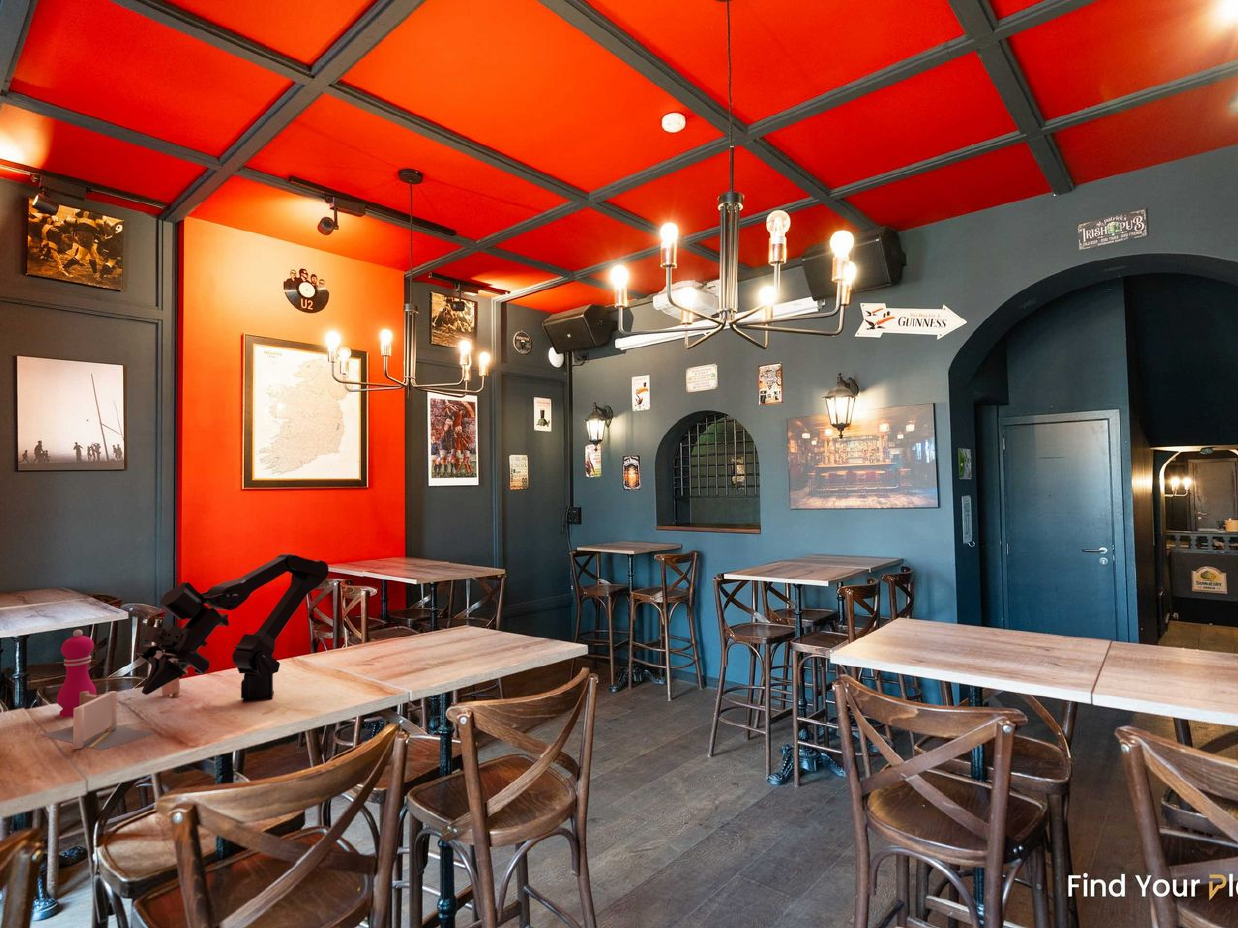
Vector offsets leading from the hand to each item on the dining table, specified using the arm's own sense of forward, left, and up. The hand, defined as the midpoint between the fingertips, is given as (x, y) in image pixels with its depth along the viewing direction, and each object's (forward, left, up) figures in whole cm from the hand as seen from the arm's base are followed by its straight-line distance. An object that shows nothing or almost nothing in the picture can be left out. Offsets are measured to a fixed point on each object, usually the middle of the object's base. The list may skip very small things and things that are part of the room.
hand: (144, 693), depth 144 cm
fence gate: (+8, +3, -7) cm, 11 cm away
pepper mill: (+18, -22, -8) cm, 30 cm away
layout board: (+8, -1, -8) cm, 12 cm away
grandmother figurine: (+1, -29, -8) cm, 30 cm away
